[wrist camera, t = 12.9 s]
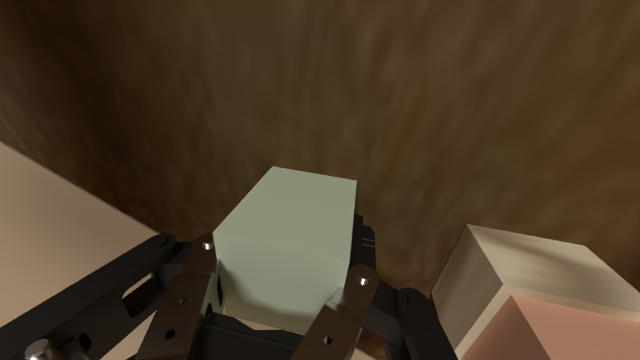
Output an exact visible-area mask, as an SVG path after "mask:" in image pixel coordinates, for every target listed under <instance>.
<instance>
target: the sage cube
mask: <svg viewBox="0 0 640 360" xmlns="http://www.w3.org/2000/svg"><path fill="white" fill-rule="evenodd" d="M356 184H357V181H355V180H349V179H343V178H337V177H331V176H326V175H320V174H314V173H308V172H302V171H296V170H291V169H285V168H279V167H273V166H272V168H271V169H270V170H269V171H268V172H267V173H266V174H265V175H264V176H263V178H262V179H261V180H260V181H259V182H258V183H257V184H256V185H255V186H254V188H253V189H252V190H251V191H250V192H249V193H248V194H247V195H246V196H245V197H244V199H243V200H242V201H241V202H240V203H239V204H238V205H237V206H236V207H235V209H234V210H233V211H232V212H231V213H230V214H229V215H228V216H227V217H226V219H225V220H224V221H223V222H222V223H221V224H220V225H219V226H218V227H217V229H216V230H215V231H214V232H213V238H214V244H215V250H216V256H217V258H218V259H220V264H221V269H220V273H219V274H220V281H221V287H222V291H225V297H226V298H225V303H224V305H225V310H226V315H229V316H233V317H237V318H241V319H245V320H248V321H252V322H256V323H260V324H264V325H268V326H272V327H276V328H280V329H284V330H287V331H291V332H296V333H299V334H303V335H305V334H306V333H307V331H308V329H309V328H310V326H311V325H312V323H313V321H314V320H315V318H316V317H317V315H318V313H319V312H320V310H321V309H322V307H323V305H324V304H325V303H326V301H327V300H331V299H332V297H333V296H334V294H335V293H336V291H337V289H338V288H339V286H340V287H344V284H345V280H346V275H347V271H348V266H349V262H350V251H351V240H352V229H353V218H354V207H355V195H356Z"/></svg>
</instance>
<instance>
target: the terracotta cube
mask: <svg viewBox="0 0 640 360" xmlns="http://www.w3.org/2000/svg"><path fill="white" fill-rule="evenodd" d="M463 356H464V359H465V360H640V322H636V321H631V320H627V319H622V318H617V317H613V316H608V315H603V314H599V313H594V312H590V311H585V310H580V309H576V308H571V307H566V306H562V305H557V304H553V303H548V302H543V301H539V300H534V299H529V298H525V297H520V296H515V295H510V297H509V298H508V299H507V300H506V302H505V303H504V304H503V305H502V307H501V308H500V309H499V311H498V312H497V313H496V314H495V316H494V317H493V318H492V319H491V321H490V322H489V323H488V324H487V326H486V327H485V328H484V330H483V331H482V332H481V333H480V335H479V336H478V337H477V338H476V340H475V341H474V342H473V344H472V345H471V346H470V347H469V349H468V350H467V351H466V352H465V354H464V355H463Z"/></svg>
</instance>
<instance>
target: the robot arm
mask: <svg viewBox="0 0 640 360" xmlns="http://www.w3.org/2000/svg"><path fill="white" fill-rule="evenodd" d="M220 269H221V264H220V259H218V258H217V256H216V250H215V244H214V238H213V232H211V233H206V234H203V235H201V236H199V237H198V238H197V239H196V240H195V241H194V242H177V239H176V237H175V236H174V235H172V234H159V235H156V236H153V237H151V238H150V239H148V240H146V241H145V242H143V243H141V244H139V245H138V246H136V247H134V248H133V249H131V250H129V251H128V252H126V253H124V254H123V255H121V256H119V257H118V258H116V259H114V260H113V261H111V262H109V263H108V264H106V265H104V266H103V267H101V268H99V269H97V270H96V271H94V272H93V273H91V274H89V275H87V276H86V277H84V278H82V279H81V280H79V281H77V282H76V283H74V284H73V285H71V286H69V287H67V288H66V289H64V290H63V291H61V292H59V293H57V294H56V295H54V296H52V297H51V298H49V299H47V300H46V301H44V302H42V303H41V304H39V305H38V306H36V307H34V308H32V309H31V310H29V311H28V312H26V313H24V314H22V315H21V316H19V317H17V318H16V319H14V320H12V321H11V322H9V323H8V324H6V325H4V326H2V327H1V328H0V360H100V359H101V358H102V357H103V356H104V355H105V354H107V353H108V352H109V351H110V350H111V349H112V348H114V347H115V346H116V345H117V344H118V343H119V342H120V341H121V340H123V339H124V338H125V337H126V336H127V335H128V334H129V333H131V332H132V331H133V330H134V329H135V328H136V327H138V325H140V324H141V323H142V322H143V321H144V320H146V319H147V318H148V317H149V316H150V315H151V314H152V313H154V312H155V311H156V310H157V311H156V313H155V315H154V317H153V320H152V322H151V324H150V326H149V329H148V330H147V333H146V335H145V337H144V339H143V341H142V343H141V346H140V348H139V350H138V352H137V353H136V354H135V355H133V356H131V357H130V358H128V359H126V360H350V359H351V357H352V354H353V352H354V350H355V347H356V345H357V342H358V340H359V338H360V335H361V333H362V330H363V328H364V327H365V328H366V329H368V330H370V331H371V332H373V333H375V334H376V335H378V336H379V337H381V338H382V341H383V344H384V348H385V352H386V356H387V359H388V360H458V358H457V355H456V353H455V351H454V349H453V347H452V345H451V343H450V341H449V339H448V337H447V335H446V333H445V331H444V329H443V327H442V325H441V323H440V321H439V319H438V317H437V315H436V313H435V311H434V309H433V307H432V305H431V303H430V302H429V300H428V299H427V297H426V296H425V295H424V294H422V293H421V292H420V291H418V290H416V289H413V288H402V289H400V290H399V291H398V290H396V289H394V288H392V287H390V286H388V285H387V284H385V283H384V282H383V281H382V280H381V279H380V278H379V276H378V274H377V272H376V258H375V233H374V232H373V230H372V228H371V227H370V226H365V225H363V216H360V215H354V218H353V229H352V240H351V251H350V262H349V266H348V271H347V275H346V280H345V284H344V287H340V286H339V288H338V289H337V291H336V293H335V294H334V296H333V297H332V299H331V300H327V301H326V303H325V304H324V305H323V307H322V309H321V310H320V312H319V313H318V315H317V317H316V318H315V320H314V321H313V323H312V325H311V326H310V328H309V329H308V331H307V333H306V334H305V336H304V335H300V334H296V333H293V332H289V331H285V330H253V329H252V328H250V327H248V326H247V325H245V324H243V323H242V322H240V321H239V320H237V319H235V318H234V317H231V316H227V315H223V308H224V303H225V298H226V297H225V291H222V287H221V281H220V274H219V273H220ZM149 273H150V274H151V278H150V279H149V280H147V281H146V282H145V283H143V284H142V285H140V286H139V287H138V288H136V289H135V290H134V291H132V292H131V293H130V294H128V295H127V296H126V297H124V298H123V299H122V296H123V295H124V293H125V292H126V291H127V290H128V289H129V288H130V287H132V286H133V285H134V284H136V283H137V282H138V281H140V280H141V279H142V278H144V277H146V276H147V275H148V274H149Z"/></svg>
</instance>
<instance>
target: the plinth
mask: <svg viewBox="0 0 640 360" xmlns="http://www.w3.org/2000/svg"><path fill="white" fill-rule="evenodd" d="M431 293H432V296H433V300H434V304H435V307H436V311H437V315H438V318H439V321H440V323H441V325H442V327H443V329H444V331H445V333H446V335H447V337H448V339H449V341H450V343H451V345H452V347H453V349H454V351H455V353H456V355H457V358H458V360H465V359H464V356H463V355H464V354H465V352H466V351H467V350H468V349H469V347H470V346H471V345H472V344H473V342H474V341H475V340H476V338H477V337H478V336H479V335H480V333H481V332H482V331H483V330H484V328H485V327H486V326H487V324H488V323H489V322H490V321H491V319H492V318H493V317H494V316H495V314H496V313H497V312H498V311H499V309H500V308H501V307H502V305H503V304H504V303H505V302H506V300H507V299H508V298H509V297H510V295H515V296H520V297H525V298H529V299H534V300H539V301H543V302H548V303H553V304H557V305H562V306H566V307H571V308H576V309H580V310H585V311H590V312H594V313H599V314H603V315H608V316H613V317H617V318H622V319H627V320H631V321H636V322H640V293H639V292H638V291H637V290H636V289H635V288H633V287H632V286H631V285H630V284H629V283H628V282H626V281H625V280H624V279H623V278H622V277H620V276H619V275H618V274H617V273H616V272H615V271H613V270H612V269H611V268H610V267H609V266H608V265H606V264H605V263H604V262H603V261H602V260H601V259H599V258H598V257H597V256H596V255H595V254H594V253H592V252H591V251H590V250H589V249H588V248H587V247H585V246H583V245H577V244H572V243H567V242H561V241H556V240H550V239H545V238H540V237H534V236H529V235H524V234H518V233H513V232H508V231H502V230H497V229H492V228H486V227H481V226H475V225H470V224H466V226H465V228H464V230H463V232H462V234H461V236H460V238H459V240H458V242H457V243H456V245H455V247H454V249H453V251H452V253H451V255H450V257H449V259H448V261H447V263H446V265H445V267H444V269H443V270H442V272H441V274H440V276H439V278H438V280H437V282H436V284H435V286H434V288H433V290H432V292H431Z"/></svg>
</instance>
